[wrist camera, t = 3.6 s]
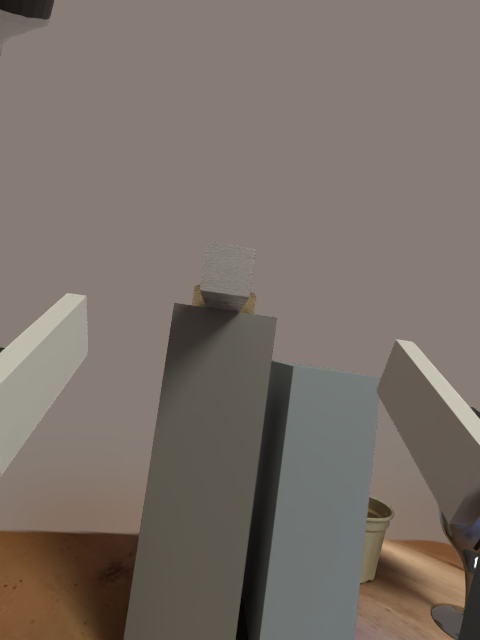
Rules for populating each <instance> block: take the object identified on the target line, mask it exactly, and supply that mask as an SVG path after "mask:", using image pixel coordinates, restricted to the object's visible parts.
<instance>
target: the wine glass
mask: <svg viewBox="0 0 480 640" xmlns="http://www.w3.org/2000/svg"><path fill="white" fill-rule="evenodd" d="M438 509H439V518H440V523H441V527H442V530H443V532H444V534H445V536H446V537H447V539H448V540H449V542H450V544H451V545H452V547H453V548H454V550H455V551H456V553H457V554H458V556H459V558H460V560H461V562H462V565H463V568H464V572H465V586H466V596H465V606H464V608H463V607H460V606H457V605H453V604H446V603H441V604H437V605H435V606H434V607H433V608H432V610H431V614H432V617H433V619H434V621H435V622H436V623H437V625H438V626H439V627H440V628H441V629H442V630H443V631H445V632H446V633H447V634H448V635H450V636H451V637H453V638H454V639H456V640H458V637H459V633H460V629H461V625H462V620H463V616H464V612H465V608H466V604H467V600H468V596H469V591H470V587H471V583H472V579H473V575H474V571H475V567H476V562H477V558H478V554H479V550H480V548H479V549H478V551H476V550H474V549H473V548H474V546H475V545H476V543H477V542H478V540H479V539H480V516H479V517H478V519H477V520H476V522H475V524H474V525H473V526H465V525H456V524H449V523H448V521H447V520H446V518H445V516H444V514H443V512H442V511H441V509H440V507H439V505H438Z"/></svg>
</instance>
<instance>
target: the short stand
mask: <svg viewBox="0 0 480 640" xmlns="http://www.w3.org/2000/svg"><path fill="white" fill-rule="evenodd" d="M380 380H381V378H378V377H373V376H368V375H363V374H357V373H352V372H347V371H341V370H336V369H331V368H325V367H318V366H311V365H303V364H296V363H288V362H281V361H273V360H272V361H271V369H270V376H269V384H268V392H267V399H266V407H265V415H264V423H263V430H262V438H261V446H260V454H259V461H258V469H257V477H256V485H255V492H254V500H253V508H252V516H251V523H250V531H249V539H248V546H247V554H246V562H245V570H244V577H243V585H242V595H243V602H244V610H245V617H246V625H247V633H248V640H354V636H355V626H356V617H357V608H358V598H359V589H360V579H361V570H362V560H363V551H364V541H365V532H366V523H367V513H368V504H369V494H370V485H371V475H372V466H373V456H374V447H375V437H376V428H377V418H378V409H379V400H380V397H379V395H378V394H377V392H376V390H377V388H378V385H379V382H380Z"/></svg>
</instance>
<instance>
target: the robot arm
mask: <svg viewBox="0 0 480 640" xmlns="http://www.w3.org/2000/svg"><path fill="white" fill-rule="evenodd" d="M53 3H54V0H0V55H1V49H2V44H3V43H4V42H6V41H7V40H8V39H9V38H11V37H13V36H16V35H19V34H23V33H26V32H28V31H32V30H35V29H38V28H41V27H44V26H47V24H48V22H49V19H50V15H51V11H52V7H53ZM86 298H87V296H84V295H76V294H69V293H67V294H66V295H65V296H64V297H63V298H61V299H60V300H59V301H58V302H57V303H56V304H55V305H53V306H52V307H51V308H50V309H49V310H48V311H47V312H46V313H44V314H43V315H42V316H41V317H40V318H39V319H38V320H37V321H35V322H34V323H33V324H32V325H31V326H30V327H29V328H28V329H26V330H25V331H24V332H23V333H22V334H21V335H20V336H19V337H17V338H16V339H15V340H14V341H13V342H12V343H11V344H10V345H9V346H7V347H6V348H0V476H1V475H2V474H3V472H4V471H5V470H6V468H7V467H8V465H9V464H10V463H11V461H12V460H13V458H14V457H15V456H16V454H17V453H18V451H19V450H20V449H21V447H22V446H23V444H24V443H25V441H26V440H27V439H28V437H29V436H30V434H31V433H32V432H33V430H34V429H35V427H36V426H37V425H38V423H39V422H40V420H41V419H42V418H43V416H44V415H45V413H46V412H47V410H48V409H49V407H50V406H51V405H52V403H53V402H54V401H55V399H56V398H57V396H58V395H59V393H60V392H61V391H62V389H63V388H64V387H65V385H66V383H67V382H68V381H69V379H70V378H71V377H72V375H73V374H74V372H75V371H76V370H77V368H78V367H79V365H80V364H81V362H82V361H83V360H84V358H85V357H86V355H87V354H88V341H87V299H86ZM376 392H377V394H378V395H379V397H380V399H381V401H382V403H383V405H384V406H385V408H386V410H387V412H388V413H389V415H390V417H391V419H392V421H393V423H394V425H395V426H396V428H397V430H398V432H399V434H400V436H401V437H402V439H403V441H404V443H405V445H406V446H407V448H408V450H409V452H410V454H411V456H412V458H413V459H414V461H415V463H416V465H417V467H418V468H419V470H420V472H421V474H422V476H423V478H424V479H425V481H426V483H427V485H428V487H429V488H430V490H431V492H432V494H433V496H434V498H435V499H436V501H437V503H438V505H439V507H440V509H441V511H442V512H443V514H444V516H445V518H446V520H447V521H448V523H449V524H456V525H465V526H473V525H474V524H475V522H476V520H477V519H478V517H479V516H480V412H478V411H477V410H476V409H474V408H473V407H469V406H468V405H467V404H466V402H465V401H464V400H463V399H462V398H461V397H460V396H459V394H458V393H457V392H456V391H455V390H454V389H453V387H452V386H451V385H450V384H449V383H448V382H447V380H446V379H445V378H444V377H443V376H442V375H441V374H440V372H439V371H438V370H437V369H436V368H435V367H434V366H433V364H432V363H431V362H430V361H429V360H428V359H427V358H426V356H425V355H424V354H423V353H422V352H421V350H420V349H419V348H418V347H417V346H416V345H415V343H414V342H411V341H404V340H397V339H396V341H395V343H394V346H393V348H392V351H391V354H390V356H389V359H388V362H387V364H386V367H385V369H384V372H383V375H382V377H381V380H380V382H379V385H378V388H377V390H376ZM479 548H480V539H479V540H478V542H477V543H476V545H475V546H474V548H473V549H474V550H476V551H478V549H479ZM458 640H480V550H479V554H478V558H477V562H476V567H475V571H474V575H473V579H472V583H471V587H470V591H469V596H468V600H467V604H466V608H465V612H464V616H463V620H462V625H461V629H460V633H459V637H458Z"/></svg>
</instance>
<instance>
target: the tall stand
mask: <svg viewBox="0 0 480 640" xmlns="http://www.w3.org/2000/svg"><path fill="white" fill-rule="evenodd" d="M276 322H277V318H275V317H268V316H261V315H254V314H247V313H240V312H233V311H227V310H220V309H213V308H206V307H199V306H192V305H185V304H178V303H174V309H173V315H172V322H171V328H170V336H169V342H168V348H167V355H166V362H165V369H164V375H163V381H162V388H161V395H160V402H159V408H158V414H157V421H156V428H155V435H154V441H153V447H152V455H151V461H150V467H149V474H148V481H147V487H146V494H145V500H144V507H143V514H142V520H141V527H140V533H139V540H138V547H137V553H136V560H135V567H134V573H133V580H132V586H131V593H130V600H129V606H128V613H127V619H126V626H125V633H124V639H123V640H235V639H236V632H237V624H238V616H239V608H240V601H241V593H242V585H243V577H244V570H245V562H246V554H247V546H248V539H249V531H250V523H251V516H252V508H253V500H254V492H255V485H256V477H257V469H258V461H259V454H260V446H261V438H262V430H263V423H264V415H265V407H266V399H267V392H268V384H269V376H270V369H271V361H272V353H273V345H274V337H275V330H276Z"/></svg>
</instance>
